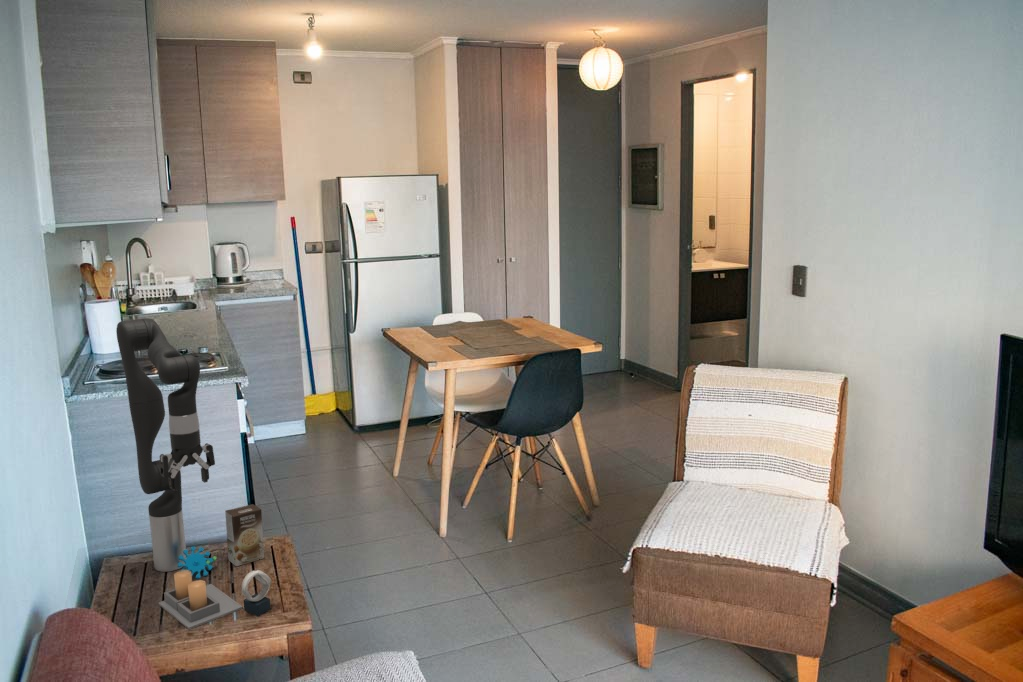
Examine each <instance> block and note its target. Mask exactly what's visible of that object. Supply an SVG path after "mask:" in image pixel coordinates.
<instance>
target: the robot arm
mask: <svg viewBox="0 0 1023 682" xmlns="http://www.w3.org/2000/svg"><path fill="white" fill-rule="evenodd" d="M115 331H116V339H117V340H116V341H117V344H118V348H119V352H120V353H119V354H120V357H121V361H122V366H123V370H124V371H123V372H124V375H125V383H126V390H127V397H128V405H129V409H130V410H129V411H130V416H131V421H132V426H133V433H134V439H135V448H136V456H137V470H138V479H139V484H140V487H141V490H142V491H143V493H144V494H146V495H152V494H157V493H160V492H162V494H161V495H160V496H159V497H156V498H155V499H154V500H152V501H151V502H150V503H149V504H148V507H147V508H148V518H149V526H150V527H149V528H150V535H151V536H150V537H151V546H152V547H151V548H152V556H153V567H154V570H155V571H158V572H162V573H163V572H165V573H166V572H172V571H177V570H180V569H183V567H180V568H179V567H178V563H179V562H181V563H182V564H185V563H184V561H182V560H179V559H178V558H179V556H180V555H183V558H184V559H187V558H186V555H185V554H184V553H183V551H184V550H186V549H187V546H186V536H185V524H184V517H183V515H184V514H183V495H182V492H183V491H182V475H181V474H182V473H181V470H182V467H183V468H185V467H188V466H190V465H191V466H193V465H195V464H198V465H199V466H200V467H201V468H200V475H201V482H203V483H208V480H210V473H209V472H210V470H209V468H210V467H212V466H215V465H216V460H215V453H214V447H213V445H212V444H210V443H208V442H207V443H205V444H204V445H201V434H200V433H201V432H200V420H199V416H198V411H197V398H196V397H197V389H198V383H199V381H200V380H199V379H200V375H201V365H200V362H199V360H198V358H196V356H194V355H191V354H189V355H188V354H187V355H186V354H185V355H182V354H181V353H180V351H178V349H176V348H175V347H174V346H173V345H172V344H171V343H170V342H169V341H168V339H167V337H166V336H165V334H164V332H163V330H162V328H161V327H160V326H159V324H158V323H157V322H156V321H155V320H154V319H153V318H149V317H148V318H146V317H145V318H138V319H128V320H127V319H126V320H122V321H119V322H118V323H117V325H116V330H115ZM146 350H147V357H148V360H149V361H150V363H151V364H152V365H153V366H154V367H155V368H156V369H157V375H158V379H159V380H160V382H162V383H163V384H166V385H175V384H180V383H183V385H182V386H181V387H180V388H179V389H176V390H174V391H172V392H170V393H169V394H168V395H167V405H168V407H167V408H168V427H169V438H170V439H169V440H170V448H171V451H170V453H167V454H164V453H162V454H160V455H159V459H158V460H153V447H154V443H155V440H156V439H157V436H158V433H159V431H160V430H161V428H162V425H163V423H164V421H165V416H166V411H165V403H164V397H163V392H162V391H161V389H160V388H159V386H158V385H157V384H156V383H155V382H154V381H153V380H152V379H151V378H150V377H149V376H148V375H147V374H146V373H145V371H144V370H143V369H142V366H140V364H139V363H138V360H137V357H136V353H135V352H139V351H146ZM202 453H205V457H206V459H205V460H206V461H205V460H204V459H203V458H202V457H201V455H202Z"/></svg>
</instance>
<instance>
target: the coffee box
mask: <svg viewBox="0 0 1023 682" xmlns="http://www.w3.org/2000/svg"><path fill="white" fill-rule="evenodd" d="M262 517H263V516H262V509H261V508H260V507H259V506H257V505H255V504H254V503H253V504H252V503H251V504H248V505H244V506H243V505H242V506H240V507H235V508H232V509H227V510H225V527H226V540H227V556H228V561H229V562H230V563H232V564H233V566H235V567H238V566H242V565H245V564H246V565H247V564H249V563H252V562H256V561H260V560H262V559H265V550H264V549H265V547H264V534H263V533H264V531H263V518H262ZM259 559H260V560H259Z"/></svg>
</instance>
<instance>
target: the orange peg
mask: <svg viewBox="0 0 1023 682" xmlns="http://www.w3.org/2000/svg"><path fill="white" fill-rule="evenodd" d="M206 585H207V583H206V581H205V580H202V579H196V580H192V582H191V583H189V584H188V592H189V602H190V611H195V610H198V609H200V608H203V607H206V606H208V604H207V594H206Z"/></svg>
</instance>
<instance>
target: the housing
mask: <svg viewBox="0 0 1023 682" xmlns="http://www.w3.org/2000/svg"><path fill="white" fill-rule="evenodd" d="M191 573H192V572H191V571H189V570H187V569H185V570H183V571H181V570H180V571H179V570H178V571H177V572H175V573H174V575H173V578H174V588H173V589H170V590H168V591H165V592H163V594H164V600H162V601H160V602H158V606H160V607H161V608H162V609H163V610H165V611H166V612H167V613H168V614H169V615H171V616H172V617H173V618H174V619H176V620H177V621H178V622H179V623H180V624H181V625H183V626H184V627H185V628H186V629H188V631H189V630H192V629H194V628H197V627H200V626H202V625H204V624H208V623H210V622H212V621H214V620H218V619H221V618H222V617H225V616H228V615H230V614H232V613H236V612H238V611H241V610H242V609H243V610H244V605H243V606H242V605H241V604H240V603H239V602H237V601H236V600H234V599H233V598H231V597H230V595H227V594H226V593H224V592H223V591H222V590H220V588H218V587H217V586H215V585H213V584H212V583H210V584H209V583H208V584H206V594H207V604H208V606H206V607H203V608H200V609H198V610H195V611H190V602H189V592H188V584H189V583H191V582H193V575H191Z"/></svg>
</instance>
